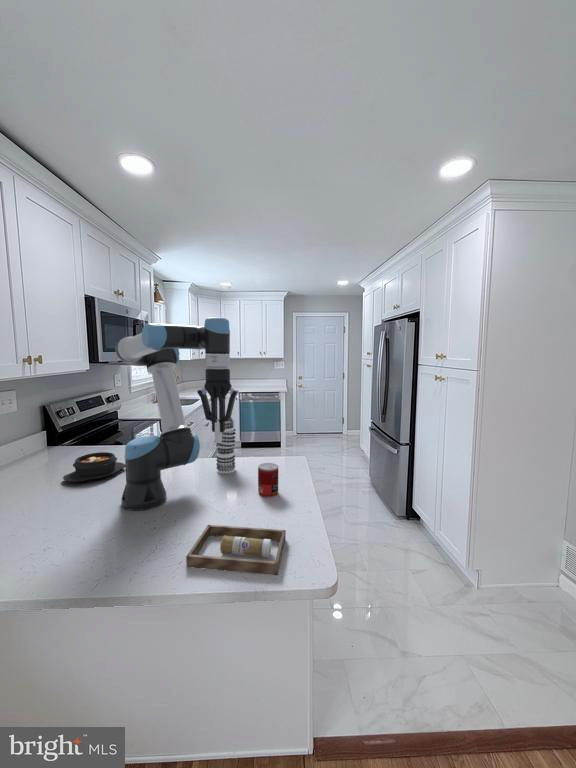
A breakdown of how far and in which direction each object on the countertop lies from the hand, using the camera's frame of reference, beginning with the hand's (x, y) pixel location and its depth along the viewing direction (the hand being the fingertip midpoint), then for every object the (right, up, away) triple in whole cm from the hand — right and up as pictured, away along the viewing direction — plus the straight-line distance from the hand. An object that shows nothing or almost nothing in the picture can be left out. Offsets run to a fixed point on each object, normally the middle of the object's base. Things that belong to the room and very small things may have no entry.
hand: (218, 441), depth 105 cm
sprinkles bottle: (+4, -26, -14) cm, 30 cm away
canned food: (+14, -25, +24) cm, 37 cm away
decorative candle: (-7, -22, +48) cm, 54 cm away
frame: (+9, -28, -15) cm, 33 cm away
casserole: (-63, -22, +41) cm, 79 cm away
